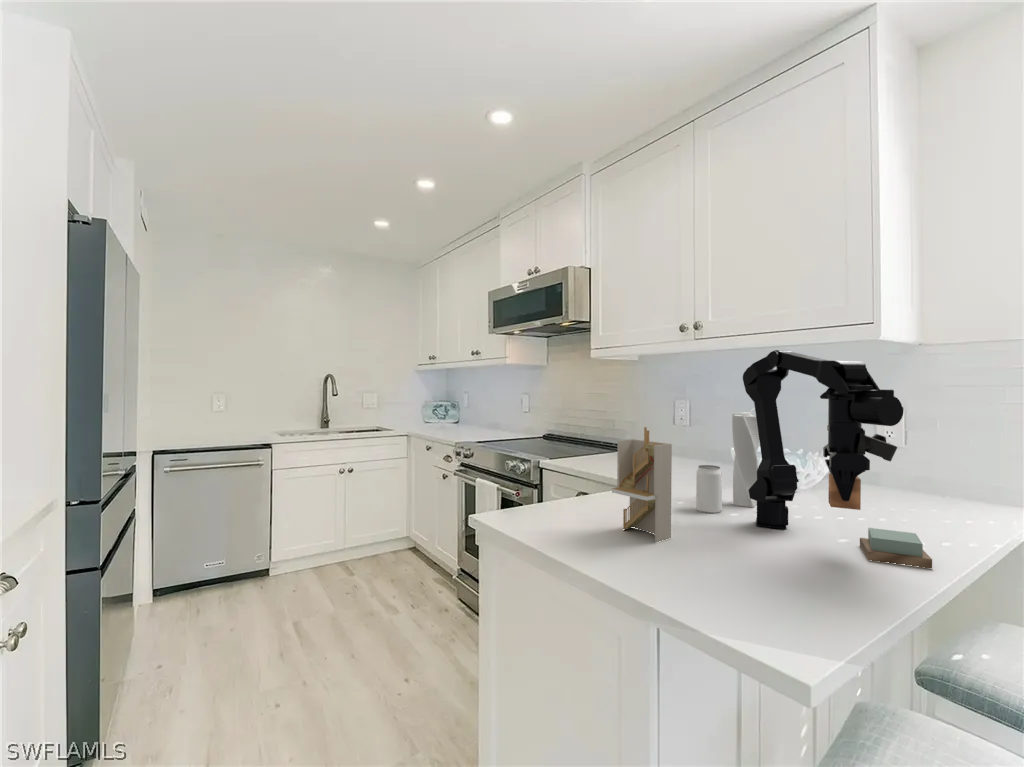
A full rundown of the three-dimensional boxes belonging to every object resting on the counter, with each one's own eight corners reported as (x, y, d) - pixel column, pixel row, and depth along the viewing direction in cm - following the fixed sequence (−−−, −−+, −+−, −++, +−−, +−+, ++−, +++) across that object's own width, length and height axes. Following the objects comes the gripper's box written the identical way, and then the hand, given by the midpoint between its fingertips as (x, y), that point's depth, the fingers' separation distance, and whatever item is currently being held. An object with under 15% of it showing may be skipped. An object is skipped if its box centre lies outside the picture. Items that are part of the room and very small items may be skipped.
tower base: (868, 564, 101) (868, 551, 101) (859, 549, 110) (859, 537, 110) (932, 572, 96) (932, 559, 96) (917, 556, 105) (917, 544, 105)
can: (725, 513, 136) (725, 468, 136) (701, 513, 136) (701, 468, 136) (716, 507, 142) (716, 464, 142) (692, 507, 143) (693, 464, 142)
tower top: (871, 550, 102) (871, 537, 102) (868, 539, 109) (868, 527, 109) (922, 557, 98) (922, 544, 98) (915, 545, 105) (915, 533, 105)
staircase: (630, 528, 124) (631, 423, 123) (670, 540, 114) (671, 427, 114) (608, 534, 119) (609, 425, 119) (648, 547, 110) (649, 429, 110)
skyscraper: (764, 504, 147) (764, 406, 146) (758, 509, 141) (759, 408, 140) (734, 500, 151) (735, 406, 151) (728, 505, 145) (729, 407, 145)
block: (830, 506, 103) (831, 477, 103) (828, 501, 108) (828, 473, 108) (860, 509, 101) (860, 479, 101) (856, 504, 105) (857, 475, 105)
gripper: (903, 427, 92) (903, 513, 92) (884, 420, 109) (883, 493, 109) (831, 424, 97) (830, 506, 97) (823, 418, 114) (822, 488, 114)
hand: (844, 498), depth 104 cm, fingers closed on block, 5 cm apart
